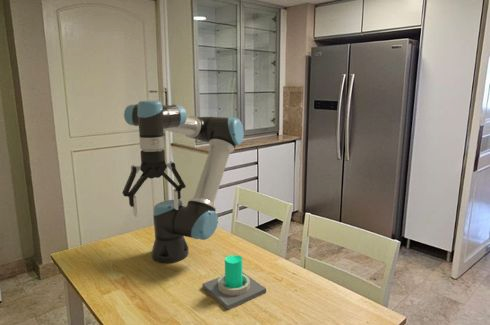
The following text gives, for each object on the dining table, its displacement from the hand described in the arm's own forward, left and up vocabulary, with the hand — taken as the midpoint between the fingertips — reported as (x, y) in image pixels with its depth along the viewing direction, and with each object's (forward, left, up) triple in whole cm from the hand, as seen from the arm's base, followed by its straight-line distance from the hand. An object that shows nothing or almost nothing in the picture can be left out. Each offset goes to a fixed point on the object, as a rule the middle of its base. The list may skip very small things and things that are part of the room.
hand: (156, 212), depth 118 cm
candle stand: (+16, +20, -29) cm, 38 cm away
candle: (+16, +20, -27) cm, 38 cm away
